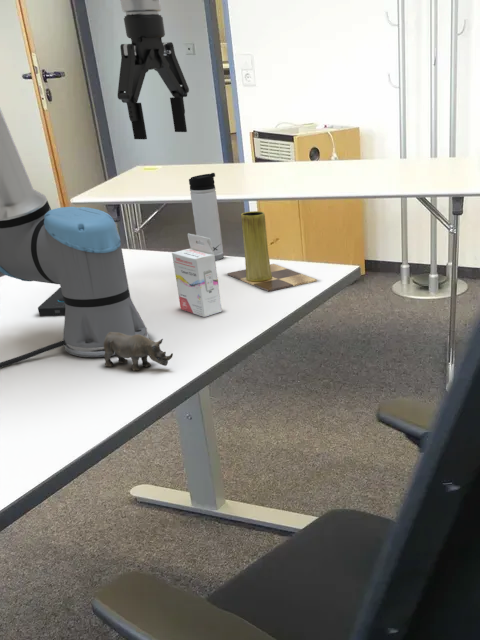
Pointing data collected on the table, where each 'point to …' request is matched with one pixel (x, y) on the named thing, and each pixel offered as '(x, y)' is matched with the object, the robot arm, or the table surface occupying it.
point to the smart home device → (53, 305)
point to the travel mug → (206, 211)
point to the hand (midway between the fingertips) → (161, 135)
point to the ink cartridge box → (197, 277)
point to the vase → (256, 246)
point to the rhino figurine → (133, 349)
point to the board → (276, 278)
